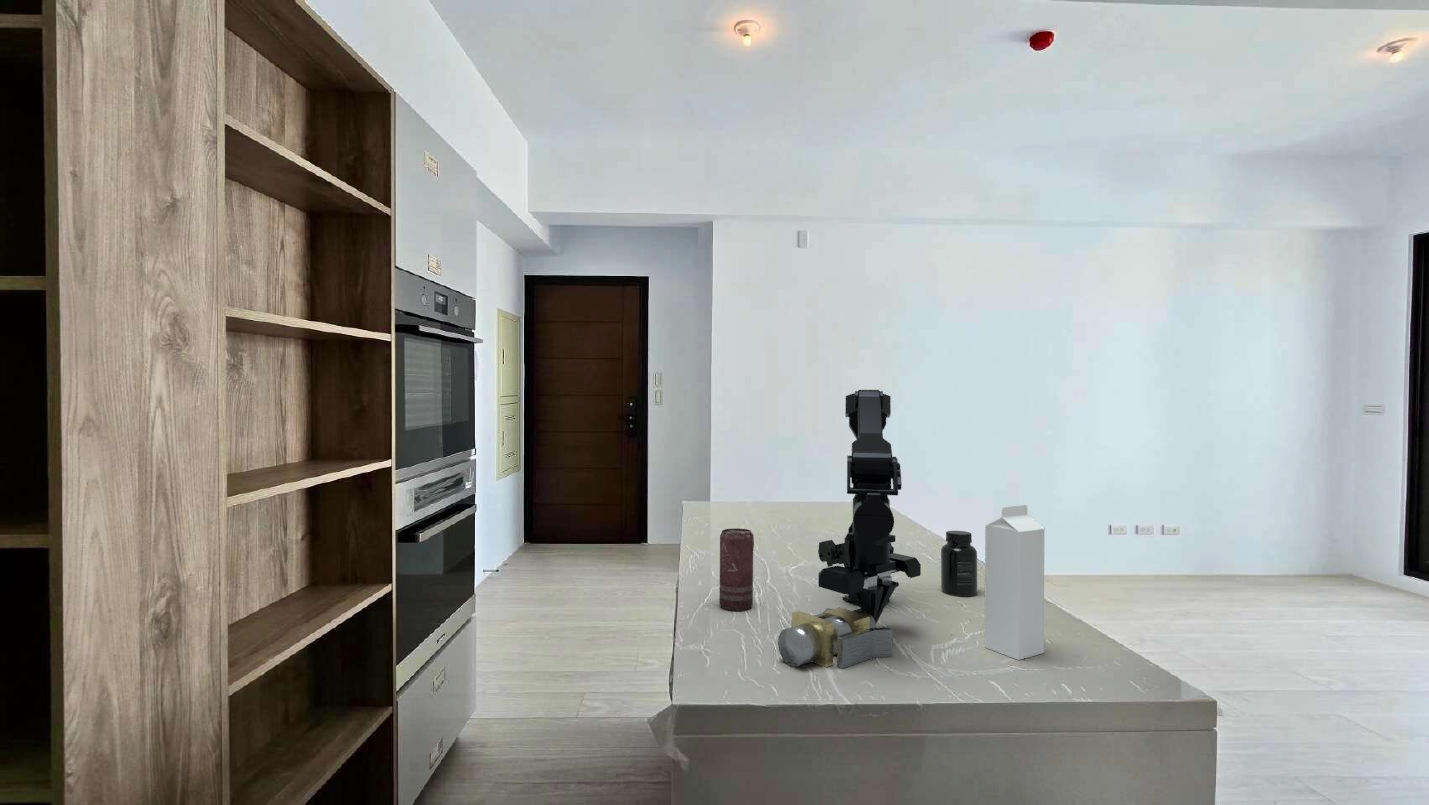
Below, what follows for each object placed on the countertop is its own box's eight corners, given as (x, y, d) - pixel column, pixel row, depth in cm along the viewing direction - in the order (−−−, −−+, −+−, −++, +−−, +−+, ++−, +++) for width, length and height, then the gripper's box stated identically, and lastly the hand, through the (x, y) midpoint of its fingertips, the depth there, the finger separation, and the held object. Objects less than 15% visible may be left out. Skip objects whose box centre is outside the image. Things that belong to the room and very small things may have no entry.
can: (751, 612, 118) (752, 534, 118) (716, 610, 120) (717, 532, 120) (756, 603, 124) (756, 528, 124) (722, 600, 126) (723, 526, 126)
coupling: (828, 632, 109) (829, 595, 109) (893, 655, 98) (894, 615, 98) (760, 652, 99) (760, 612, 99) (824, 681, 89) (824, 636, 89)
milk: (1044, 654, 100) (1046, 507, 100) (1018, 661, 97) (1020, 510, 97) (1008, 641, 105) (1010, 502, 105) (983, 647, 102) (985, 504, 102)
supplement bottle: (980, 591, 134) (980, 531, 134) (973, 599, 128) (973, 537, 128) (945, 586, 137) (945, 528, 137) (936, 593, 132) (937, 533, 132)
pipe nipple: (848, 637, 106) (848, 604, 106) (878, 647, 102) (878, 613, 102) (814, 648, 101) (814, 614, 101) (844, 660, 97) (844, 624, 97)
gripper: (868, 515, 117) (868, 603, 117) (792, 527, 106) (792, 625, 106) (922, 524, 108) (922, 620, 108) (847, 538, 97) (847, 645, 97)
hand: (870, 626), depth 105 cm, fingers closed
